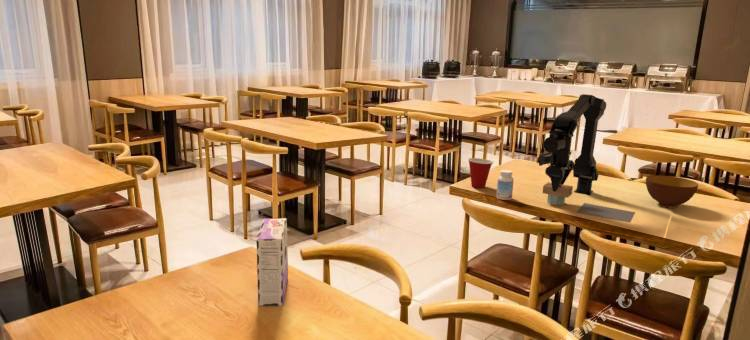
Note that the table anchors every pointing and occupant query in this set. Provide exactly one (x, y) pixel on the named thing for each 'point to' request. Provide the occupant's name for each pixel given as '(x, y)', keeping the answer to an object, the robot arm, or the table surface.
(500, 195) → the pill bottle
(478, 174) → the plastic cup
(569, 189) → the lid
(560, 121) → the robot arm
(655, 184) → the bowl
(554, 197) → the ramekin
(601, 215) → the mat
